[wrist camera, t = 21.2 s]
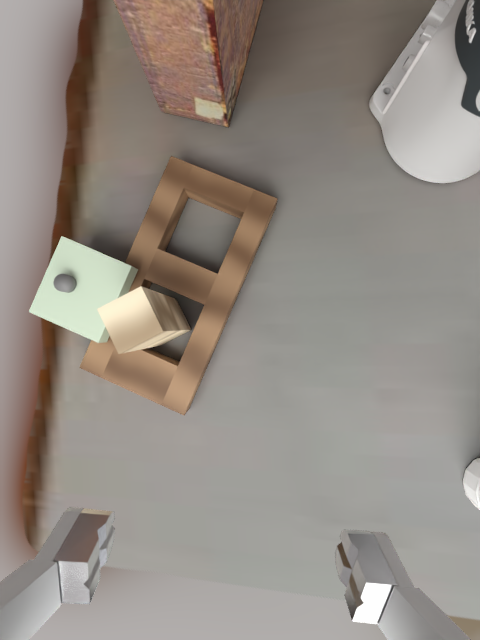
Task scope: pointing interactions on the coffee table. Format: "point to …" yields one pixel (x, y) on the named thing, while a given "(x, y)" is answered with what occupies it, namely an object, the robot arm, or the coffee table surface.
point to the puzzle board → (185, 283)
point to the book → (193, 52)
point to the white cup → (473, 482)
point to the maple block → (143, 320)
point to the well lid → (81, 288)
